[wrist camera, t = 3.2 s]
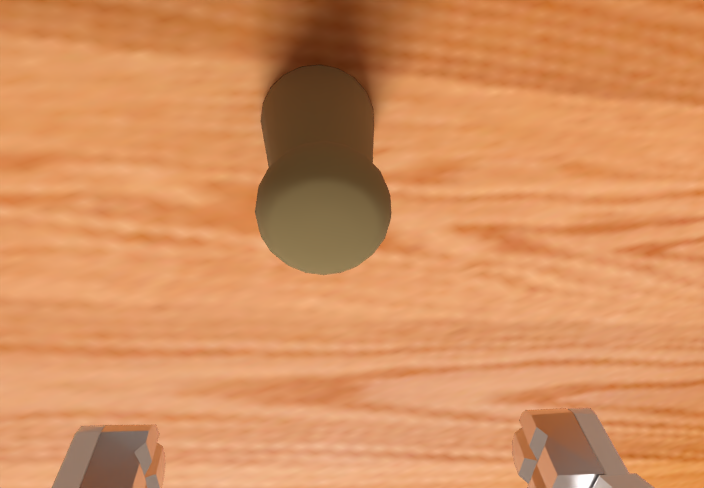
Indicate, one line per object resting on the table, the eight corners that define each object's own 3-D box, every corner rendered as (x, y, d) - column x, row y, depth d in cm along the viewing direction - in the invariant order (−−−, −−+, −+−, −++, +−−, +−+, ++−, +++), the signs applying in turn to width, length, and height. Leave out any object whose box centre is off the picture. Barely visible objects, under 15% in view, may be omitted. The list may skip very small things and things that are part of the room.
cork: (327, 192, 30) (338, 322, 21) (238, 132, 27) (206, 249, 18) (397, 113, 28) (443, 219, 18) (306, 39, 25) (308, 120, 16)
